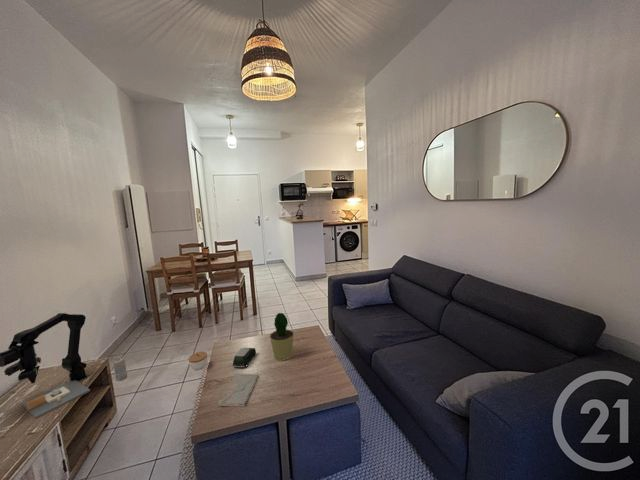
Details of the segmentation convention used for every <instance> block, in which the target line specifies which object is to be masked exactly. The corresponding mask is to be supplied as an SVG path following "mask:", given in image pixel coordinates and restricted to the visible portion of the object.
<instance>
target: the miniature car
mask: <svg viewBox="0 0 640 480" xmlns="http://www.w3.org/2000/svg"><path fill="white" fill-rule="evenodd" d="M255 354H256V355H257V351H256V348H255V347H242V348H239V350H238V351H237V352H236V353H235V355H234V357H233V360H232V361H233V362H232V365H231V366H232V367H233V366H234V367H235V368H247V367H246V365H248V366H249V363H250V362H251V360H252V359H253V358H254V357H256V356H255Z"/></svg>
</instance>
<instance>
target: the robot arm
mask: <svg viewBox="0 0 640 480" xmlns="http://www.w3.org/2000/svg"><path fill="white" fill-rule="evenodd" d="M61 322H66V323H67V327H68V329H69V335H68V336H69V337H68V345H67V354H66V356H65V357H63V358H62V359H61V365H60V366H61V367H62V369H64V370H65V371H68V372H69V373H68V381H73V380H76V381H78V382H80V381H81V380H83V379H86V378H87V377H88V375H86V370H85V369H86V368H87V363H86V362H82V358H81V356H80V352H79V349H80V341H81V330H82V328H83V327H84V325H85V323H86V315H84V314H75V313H72V314H69V313H66V312H59V313H57V314H56V315H54V316H52V317H51V318H49V319H47V320H45V321H43V322H41V323H40V324H38V325H36V326H34V327H32V328H28V329H25V330H22V331H20V332H17V333H16V334H14V336H13V339H12V341H11V343H10V344H9V346H8V348H7V350H4V351H0V368H4V367H6V366H8V365H10V364H11V365H10V366H8V367H6V368H5V369H4V371H3V372H4V375H5V376H7V377H10V376H12V375H13V374H15V373H17V372H20V373H18V376H17V378H18V379H17V380H18V381H22V380H26V379H28V380H29V381H30V383H31V384H35V383H36V379H37V378H38V377H37V376H38V373H39V370H40V365H38V364H41V363H42V359H41V357H40V356H38V355H37V354H38V353H36V349H35V345H38V344H39V341H36V339H38V337H39V336H40V335H42V334H43V333H45V332H46V331H48V330H50V329H52V328H53V327H55V326H57V325H58V324H60V323H61ZM16 361H17V362H16ZM14 362H15V363H14Z"/></svg>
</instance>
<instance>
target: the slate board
mask: <svg viewBox="0 0 640 480" xmlns="http://www.w3.org/2000/svg"><path fill="white" fill-rule="evenodd" d="M61 387H65V388H67V389H68V390H69V391H70V394H68V395H66V396H63V397H61V398H60V397H58V398H57V400H55V401H53V402H51V403H49V404H48V403H47V402H44V403H42V404H40V405H38V406H36V407H34V408H32V409H30V410H28V409H27V405H26V402H28V401H31V400H33V399H35V398H37V397H39V396H41V395H46V394H48V393H51V392H52V396H51V397H54V396H56V395H59V394H61V392H60V390H59V388H61ZM90 392H91V389H90V388H88V387H87V386H86V385H84V384H82V383H81V382H80V381H76V380H73V381H70V380H68V381H66V382H64V383H62V384H60V385H57V386H56V387H53V388H52V389H49V390H47V391H44V392H42V393H40V394H38V395H35V396H33V397H31V398H29V399H27V400H25V401H23V402H20V403H21V405H22V407H24V409H26V410H27V412H28V413H29V414H30V415H31V416H32V417H33V418H34V419H35V420H36V419H38V418H40V417H43V416H45V415H47V414H48V412H49V413H50V412H53V411H54V410H57V409H58V408H60V407H62V406H64V405H67V404H68V403H70V402H72V401H75V399H78V398H80V397H82V396H83V395H86V394H88V393H90ZM46 413H47V414H46Z"/></svg>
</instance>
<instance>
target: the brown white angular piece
mask: <svg viewBox="0 0 640 480" xmlns="http://www.w3.org/2000/svg"><path fill="white" fill-rule="evenodd" d="M59 390H60V392H61V394H59V395H56V396H54V397H51V396H52V392H51V393H48V394H46V395H41V396H39V397H37V398H35V399H33V400H31V401H28V402H26V405H27V409H28V410H30V409H32V408H34V407H36V406H38V405H40V404H42V403H44V402H47V403H48V404H49V403H51V402H53V401H55V400H57V398H58V397H60V398H61V397H63V396H66V395H68V394H70V391H69V390H68V389H67V388H65V387H61V388H59Z"/></svg>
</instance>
